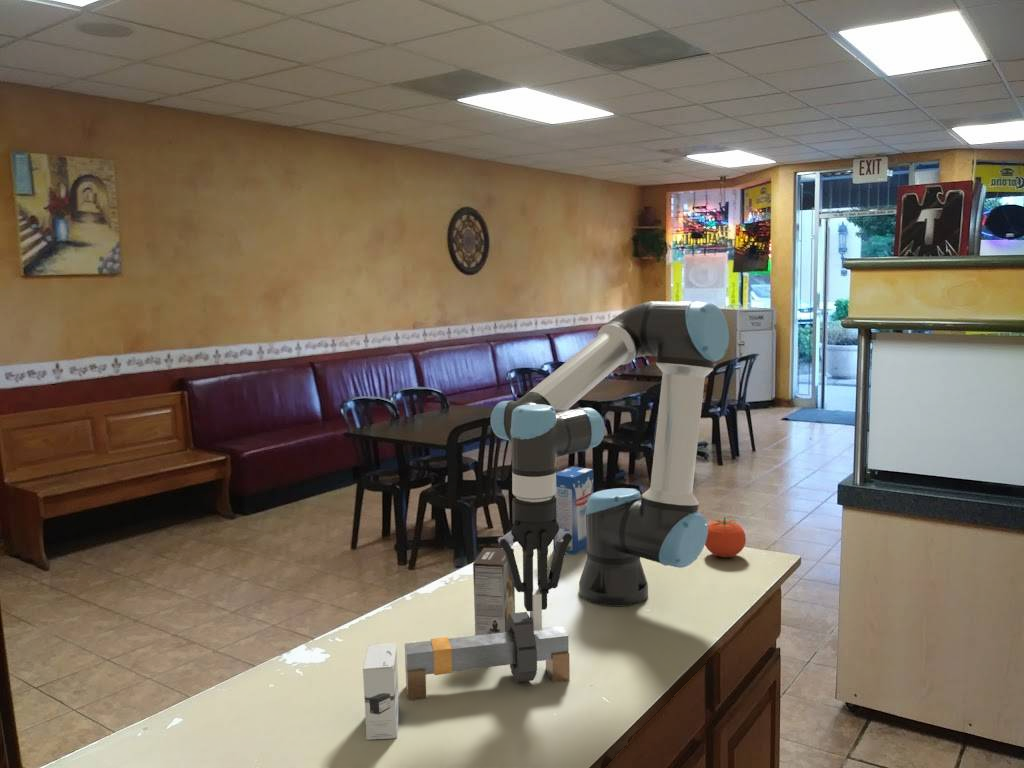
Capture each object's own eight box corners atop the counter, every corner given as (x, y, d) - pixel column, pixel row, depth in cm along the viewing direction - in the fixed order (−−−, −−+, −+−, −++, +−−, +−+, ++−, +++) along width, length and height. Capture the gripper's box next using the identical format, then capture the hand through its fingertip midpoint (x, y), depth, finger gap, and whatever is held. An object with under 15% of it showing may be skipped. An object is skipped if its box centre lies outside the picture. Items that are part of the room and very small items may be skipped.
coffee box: (485, 621, 164) (483, 546, 162) (516, 624, 163) (514, 548, 161) (474, 642, 155) (472, 562, 153) (506, 644, 154) (505, 564, 152)
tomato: (695, 551, 203) (696, 513, 201) (732, 547, 205) (733, 509, 204) (715, 565, 193) (715, 525, 192) (753, 561, 195) (754, 521, 194)
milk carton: (573, 539, 214) (572, 466, 211) (593, 543, 210) (593, 469, 207) (553, 550, 205) (552, 474, 203) (574, 555, 202) (573, 477, 199)
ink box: (369, 711, 132) (366, 643, 130) (400, 709, 132) (397, 641, 130) (364, 741, 123) (361, 669, 121) (397, 739, 123) (394, 667, 122)
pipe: (561, 666, 145) (561, 623, 144) (569, 680, 140) (569, 635, 139) (406, 685, 139) (404, 641, 138) (408, 700, 134) (406, 654, 133)
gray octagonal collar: (523, 660, 146) (522, 603, 145) (537, 690, 136) (536, 629, 134) (507, 662, 146) (505, 605, 144) (520, 692, 135) (519, 631, 134)
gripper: (565, 487, 142) (565, 614, 145) (492, 492, 139) (495, 622, 142) (577, 498, 135) (578, 632, 138) (501, 504, 132) (503, 640, 135)
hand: (535, 627), depth 140 cm, fingers closed
